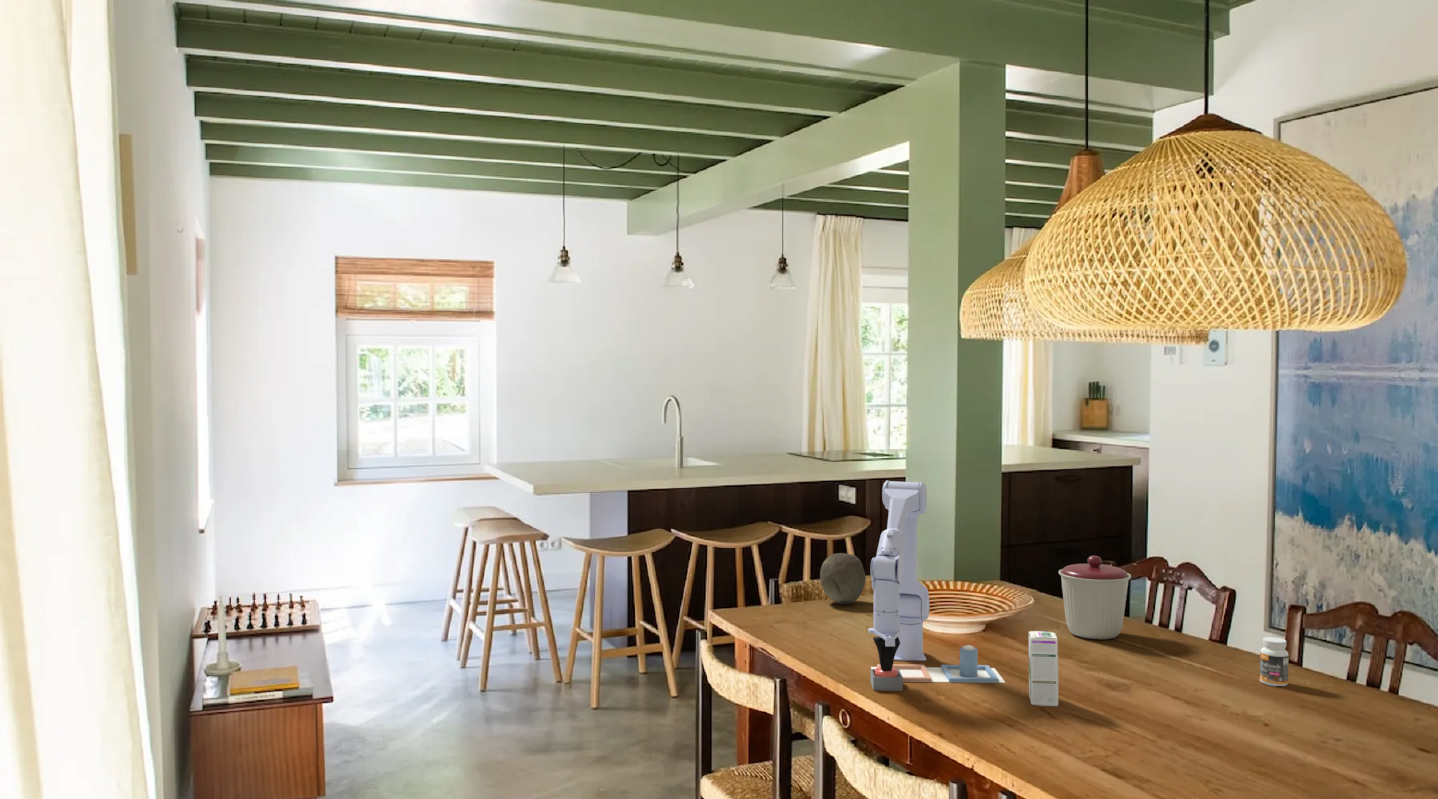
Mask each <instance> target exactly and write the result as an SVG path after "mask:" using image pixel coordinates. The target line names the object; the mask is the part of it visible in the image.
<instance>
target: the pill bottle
mask: <svg viewBox="0 0 1438 799" xmlns="http://www.w3.org/2000/svg"><path fill="white" fill-rule="evenodd" d="M1262 644H1263V647H1261V649H1260V654H1259V660H1260V661H1259V682H1260V683H1262V684H1263V685H1266V686H1270V687H1276V686H1282V687H1286V686H1288V683H1289V660H1290V659H1289V657H1290V656H1289V652H1288V651H1287V650H1286V648H1287V646H1288V645H1287V640H1286V639H1284V638H1279V637H1274V636H1273V637H1272V636H1266V637H1263V639H1262Z"/></svg>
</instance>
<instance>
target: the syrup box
mask: <svg viewBox="0 0 1438 799" xmlns="http://www.w3.org/2000/svg"><path fill="white" fill-rule="evenodd" d="M1058 644H1059V642H1058V636H1057V634H1056V632H1054V631H1048V630H1047V631H1045V630H1036V631H1035V630H1033V631H1032V630H1031V631H1030V630H1029V631H1028V699H1029V700H1030V701H1029V702H1030V705H1032V706H1033V705H1034V706H1039V707H1040V706H1041V707H1059V654H1058V653H1059V647H1058Z"/></svg>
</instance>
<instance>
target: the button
mask: <svg viewBox="0 0 1438 799" xmlns="http://www.w3.org/2000/svg"><path fill="white" fill-rule="evenodd" d="M875 677H898V670H897V669H895V668H892V670H891V671H882V669H881V667H879V668H876V669H875Z"/></svg>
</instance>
